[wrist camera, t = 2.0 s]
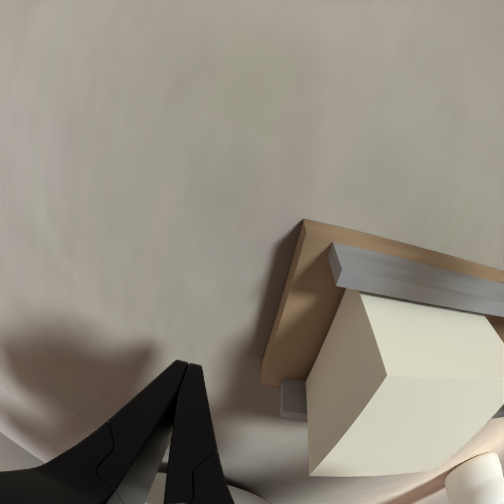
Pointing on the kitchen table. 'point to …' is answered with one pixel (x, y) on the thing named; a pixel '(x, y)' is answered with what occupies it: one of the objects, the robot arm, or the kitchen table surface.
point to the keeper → (400, 386)
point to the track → (368, 280)
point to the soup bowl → (243, 499)
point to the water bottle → (476, 481)
